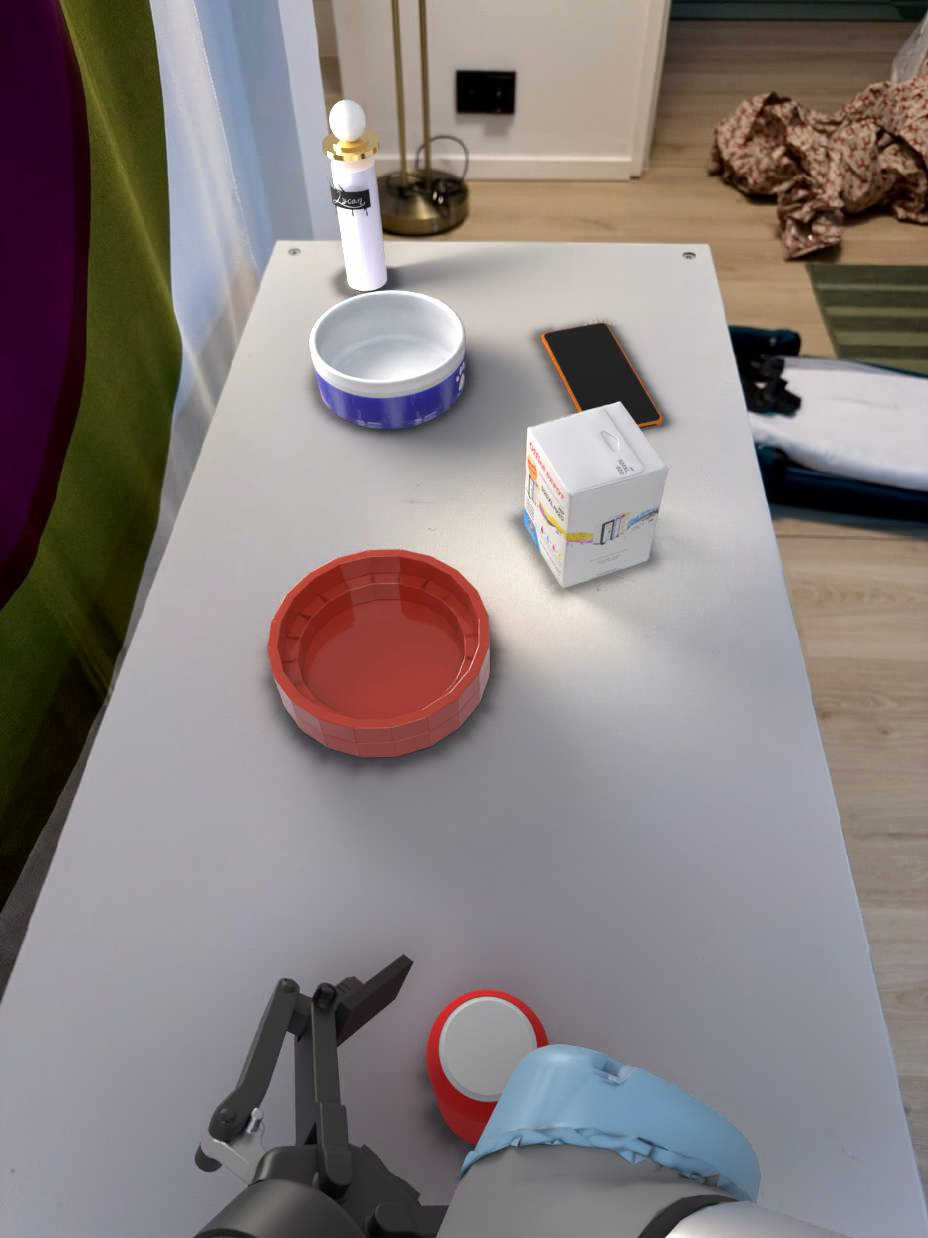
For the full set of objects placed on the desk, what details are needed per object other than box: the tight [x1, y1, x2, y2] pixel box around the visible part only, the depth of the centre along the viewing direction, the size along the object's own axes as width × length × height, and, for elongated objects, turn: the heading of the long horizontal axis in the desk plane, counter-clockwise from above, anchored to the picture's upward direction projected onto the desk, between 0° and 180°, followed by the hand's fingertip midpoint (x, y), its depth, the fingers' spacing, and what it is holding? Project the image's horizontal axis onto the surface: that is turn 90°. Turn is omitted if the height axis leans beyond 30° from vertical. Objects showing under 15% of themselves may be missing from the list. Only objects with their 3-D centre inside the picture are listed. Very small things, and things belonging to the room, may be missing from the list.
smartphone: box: [540, 322, 664, 429], centre depth 91 cm, size 8×17×1 cm, turn 14°
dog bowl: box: [309, 289, 467, 430], centre depth 90 cm, size 15×15×6 cm
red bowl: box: [266, 548, 491, 758], centre depth 69 cm, size 17×17×5 cm
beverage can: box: [425, 989, 550, 1146], centre depth 48 cm, size 6×6×12 cm
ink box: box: [523, 402, 669, 589], centre depth 74 cm, size 9×8×12 cm
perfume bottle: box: [321, 99, 388, 292], centre depth 95 cm, size 6×6×20 cm
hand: (496, 1052), depth 49 cm, fingers open, 13 cm apart
